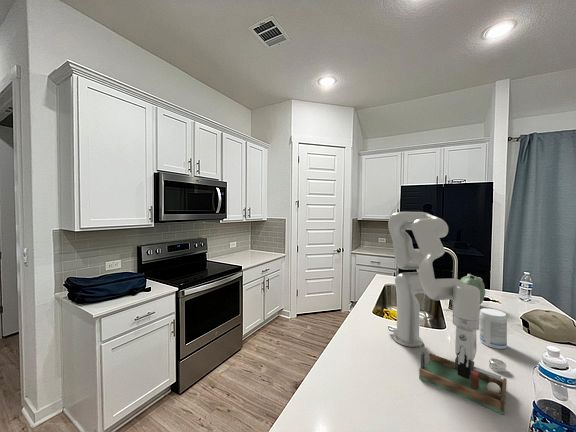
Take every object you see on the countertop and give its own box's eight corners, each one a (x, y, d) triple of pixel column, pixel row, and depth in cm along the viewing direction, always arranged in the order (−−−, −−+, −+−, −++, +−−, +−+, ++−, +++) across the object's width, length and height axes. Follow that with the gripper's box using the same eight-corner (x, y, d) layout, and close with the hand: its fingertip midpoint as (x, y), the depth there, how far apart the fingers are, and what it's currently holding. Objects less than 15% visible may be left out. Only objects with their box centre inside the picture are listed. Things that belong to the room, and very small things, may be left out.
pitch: (415, 376, 90) (415, 360, 90) (426, 360, 100) (426, 345, 100) (504, 415, 73) (504, 395, 73) (506, 390, 83) (506, 373, 83)
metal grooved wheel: (509, 371, 93) (494, 364, 98) (509, 364, 93) (494, 356, 98) (500, 374, 91) (486, 366, 96) (501, 366, 91) (486, 359, 96)
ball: (503, 393, 77) (496, 400, 78) (504, 387, 80) (497, 394, 81) (490, 383, 79) (483, 390, 80) (491, 377, 82) (485, 385, 83)
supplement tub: (509, 345, 111) (510, 313, 111) (502, 352, 106) (503, 318, 106) (483, 336, 119) (484, 306, 119) (475, 342, 114) (476, 310, 114)
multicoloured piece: (454, 380, 86) (455, 359, 86) (456, 376, 88) (456, 355, 88) (500, 398, 78) (500, 375, 78) (500, 393, 80) (501, 370, 80)
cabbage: (447, 304, 160) (448, 274, 159) (462, 299, 169) (463, 270, 169) (475, 313, 146) (476, 280, 146) (490, 307, 156) (491, 276, 155)
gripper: (475, 333, 76) (474, 392, 77) (482, 317, 88) (481, 368, 89) (447, 325, 82) (446, 380, 82) (457, 311, 94) (456, 359, 94)
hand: (464, 373), depth 85 cm, fingers closed on multicoloured piece, 3 cm apart
